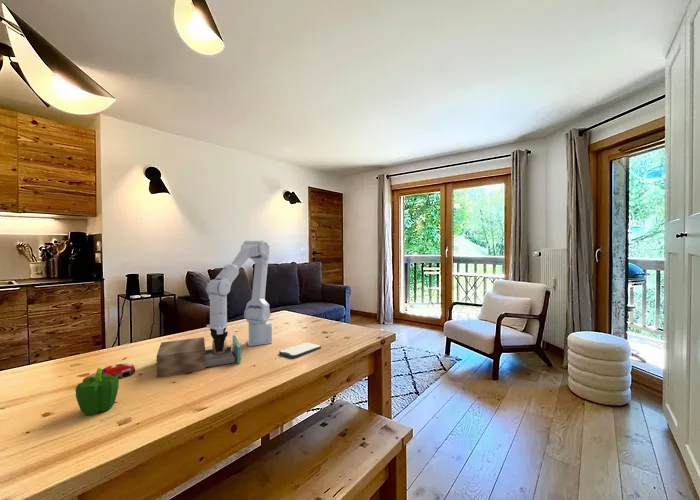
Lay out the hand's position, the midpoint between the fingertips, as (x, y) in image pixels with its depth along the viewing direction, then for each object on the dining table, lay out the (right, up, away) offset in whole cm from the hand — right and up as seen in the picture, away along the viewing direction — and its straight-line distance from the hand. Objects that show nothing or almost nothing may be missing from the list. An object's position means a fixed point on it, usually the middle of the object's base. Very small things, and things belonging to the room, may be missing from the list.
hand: (218, 349), depth 113 cm
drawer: (0, -3, 0) cm, 4 cm away
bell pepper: (-16, -4, -35) cm, 38 cm away
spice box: (-10, -4, -5) cm, 12 cm away
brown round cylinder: (0, -2, 0) cm, 2 cm away
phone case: (+29, -4, +9) cm, 30 cm away
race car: (-27, -5, -16) cm, 32 cm away
